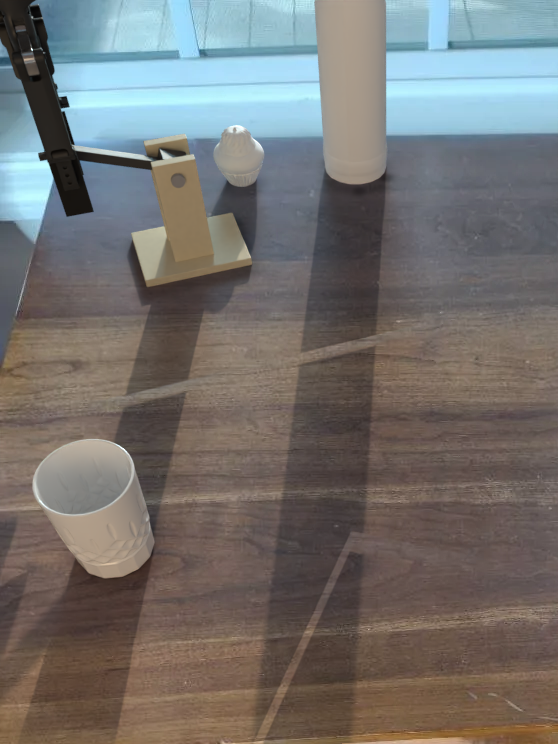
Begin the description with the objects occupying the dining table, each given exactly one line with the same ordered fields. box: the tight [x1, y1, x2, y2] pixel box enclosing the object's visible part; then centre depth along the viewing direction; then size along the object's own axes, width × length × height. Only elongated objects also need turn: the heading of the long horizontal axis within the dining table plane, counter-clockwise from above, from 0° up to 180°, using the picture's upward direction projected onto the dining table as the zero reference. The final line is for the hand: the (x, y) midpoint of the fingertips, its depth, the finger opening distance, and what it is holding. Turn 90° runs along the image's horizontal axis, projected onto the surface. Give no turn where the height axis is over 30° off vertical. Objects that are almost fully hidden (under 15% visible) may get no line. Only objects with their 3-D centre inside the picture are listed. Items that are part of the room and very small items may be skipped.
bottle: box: [313, 0, 388, 185], centre depth 97 cm, size 8×8×30 cm
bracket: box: [130, 133, 253, 288], centre depth 94 cm, size 12×9×13 cm
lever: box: [74, 144, 186, 171], centre depth 88 cm, size 13×6×2 cm, turn 110°
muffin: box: [212, 124, 265, 188], centre depth 105 cm, size 6×6×7 cm
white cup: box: [31, 438, 155, 579], centre depth 72 cm, size 8×8×10 cm
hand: (74, 193), depth 89 cm, fingers closed on lever, 6 cm apart
